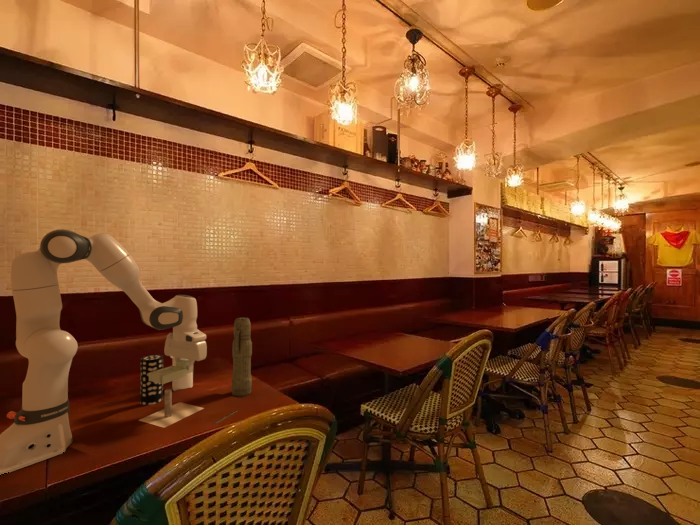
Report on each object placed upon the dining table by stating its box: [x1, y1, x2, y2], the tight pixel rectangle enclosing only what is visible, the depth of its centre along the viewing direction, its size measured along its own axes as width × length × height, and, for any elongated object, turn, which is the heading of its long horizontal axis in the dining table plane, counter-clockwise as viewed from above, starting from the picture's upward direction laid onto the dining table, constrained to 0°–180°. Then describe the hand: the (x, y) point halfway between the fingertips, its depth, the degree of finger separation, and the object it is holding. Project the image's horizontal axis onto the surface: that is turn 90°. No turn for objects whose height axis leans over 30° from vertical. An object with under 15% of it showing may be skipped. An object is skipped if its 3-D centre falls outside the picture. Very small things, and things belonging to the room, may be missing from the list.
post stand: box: [138, 388, 205, 429], centre depth 132 cm, size 18×14×12 cm
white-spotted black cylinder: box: [139, 354, 164, 406], centre depth 144 cm, size 8×8×20 cm
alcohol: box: [171, 357, 194, 392], centre depth 162 cm, size 9×9×30 cm
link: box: [149, 359, 194, 385], centre depth 132 cm, size 15×8×5 cm, turn 156°
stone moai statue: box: [231, 316, 253, 398], centre depth 158 cm, size 9×12×35 cm
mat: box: [212, 409, 238, 425], centre depth 135 cm, size 12×10×1 cm
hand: (184, 368), depth 137 cm, fingers closed on link, 4 cm apart
